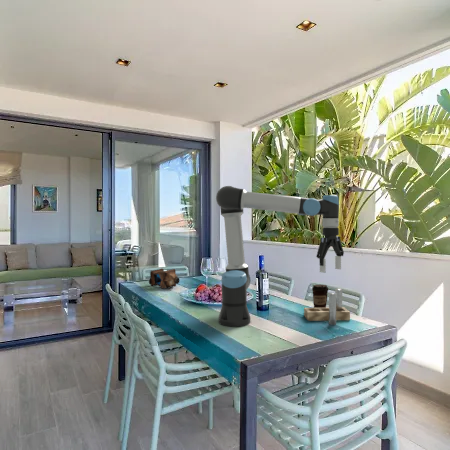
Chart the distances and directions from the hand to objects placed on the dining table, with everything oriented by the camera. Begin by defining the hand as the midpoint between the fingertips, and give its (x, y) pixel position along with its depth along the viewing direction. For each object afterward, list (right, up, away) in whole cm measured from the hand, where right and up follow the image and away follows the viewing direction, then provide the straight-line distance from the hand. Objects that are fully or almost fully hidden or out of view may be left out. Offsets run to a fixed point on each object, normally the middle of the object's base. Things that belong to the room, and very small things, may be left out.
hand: (330, 270), depth 168 cm
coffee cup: (-1, -23, +14) cm, 27 cm away
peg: (-2, -23, -9) cm, 25 cm away
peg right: (+4, -23, 0) cm, 23 cm away
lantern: (-93, -22, +75) cm, 121 cm away
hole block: (-2, -23, 0) cm, 23 cm away
